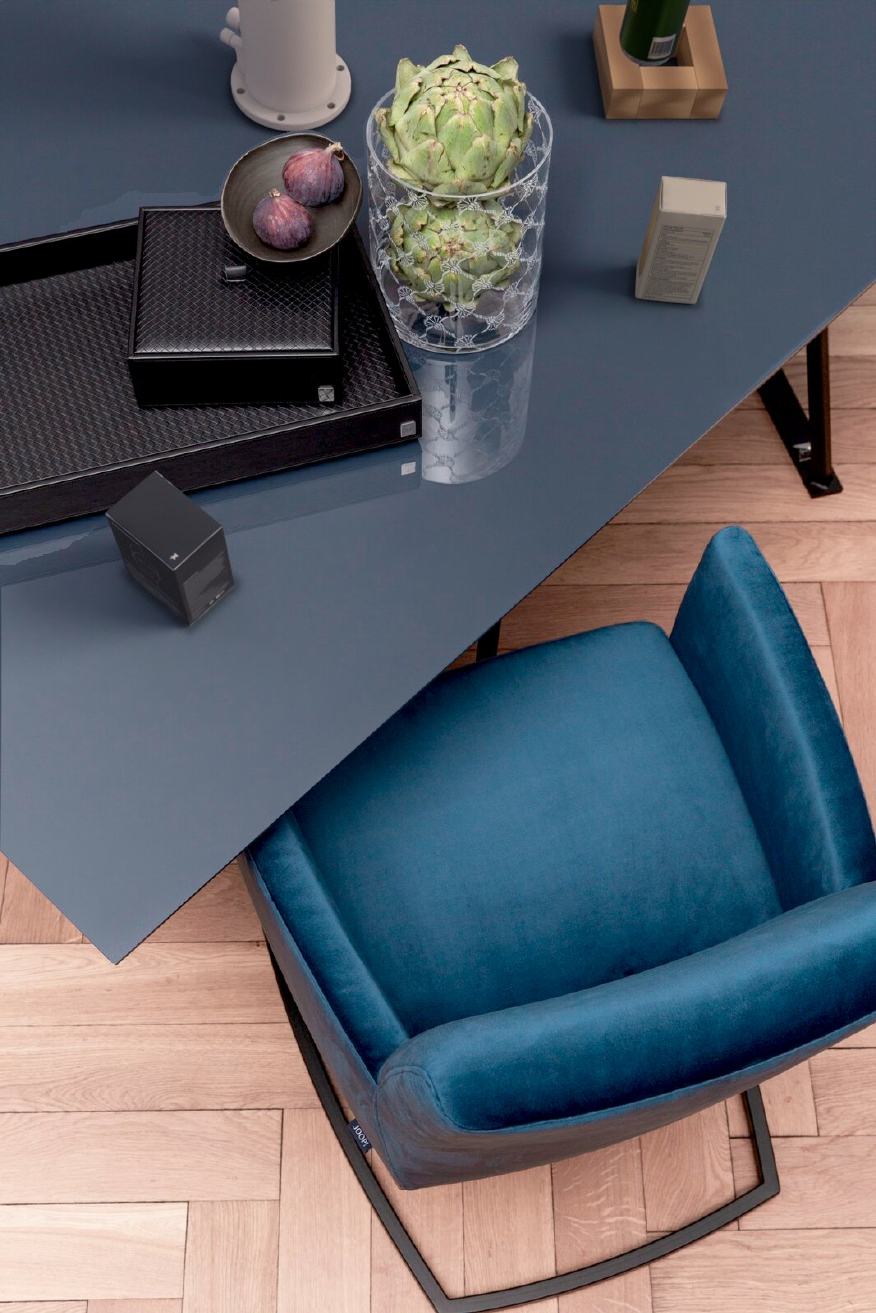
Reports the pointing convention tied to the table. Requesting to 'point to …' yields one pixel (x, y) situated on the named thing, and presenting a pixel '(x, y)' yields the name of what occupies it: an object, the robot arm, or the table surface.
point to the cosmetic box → (680, 239)
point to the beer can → (652, 30)
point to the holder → (661, 71)
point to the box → (172, 547)
